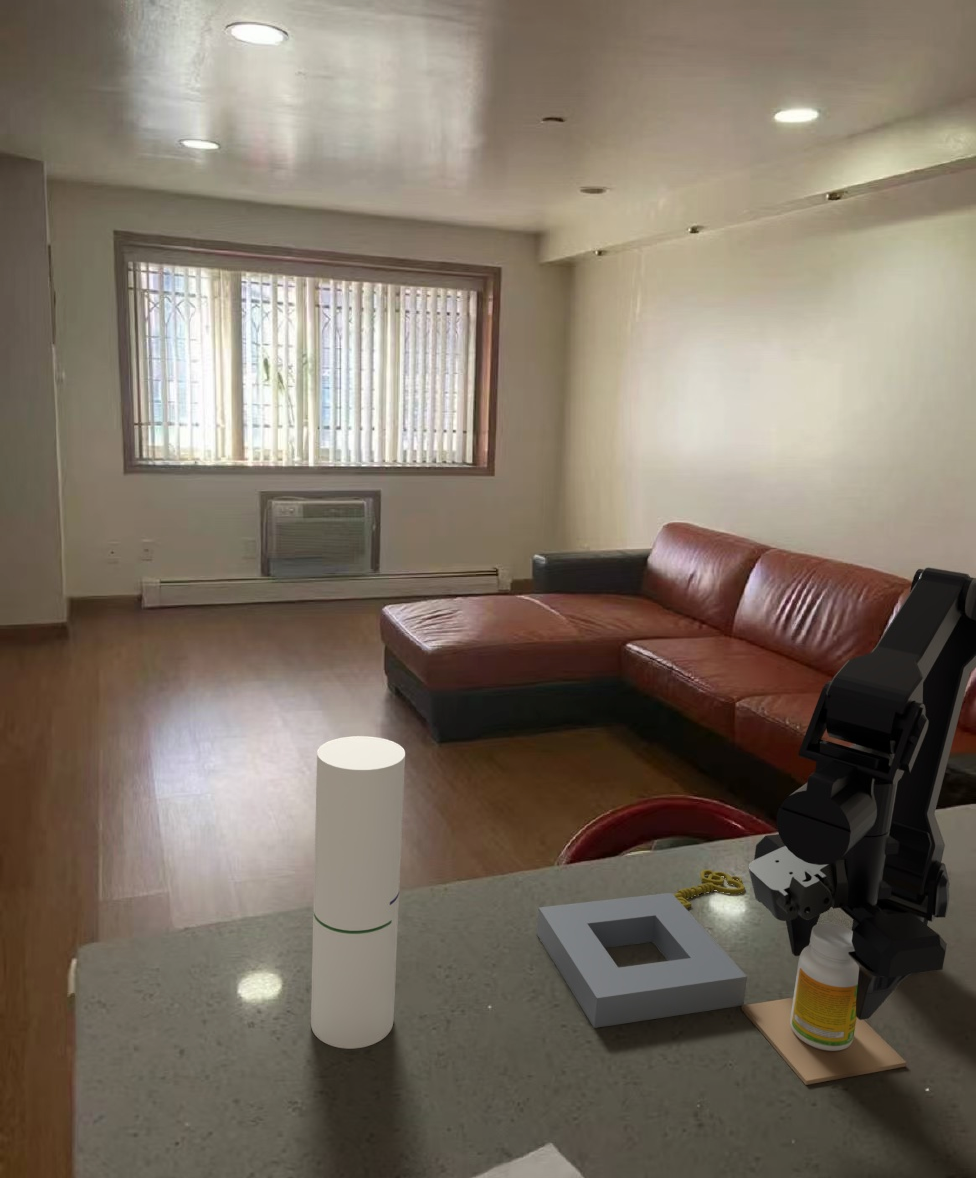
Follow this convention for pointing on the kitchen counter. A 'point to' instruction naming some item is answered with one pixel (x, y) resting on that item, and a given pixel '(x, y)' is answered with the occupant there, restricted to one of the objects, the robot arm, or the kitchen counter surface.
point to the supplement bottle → (826, 989)
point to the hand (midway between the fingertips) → (828, 984)
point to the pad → (816, 1063)
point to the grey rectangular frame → (640, 991)
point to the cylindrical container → (356, 889)
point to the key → (710, 886)
